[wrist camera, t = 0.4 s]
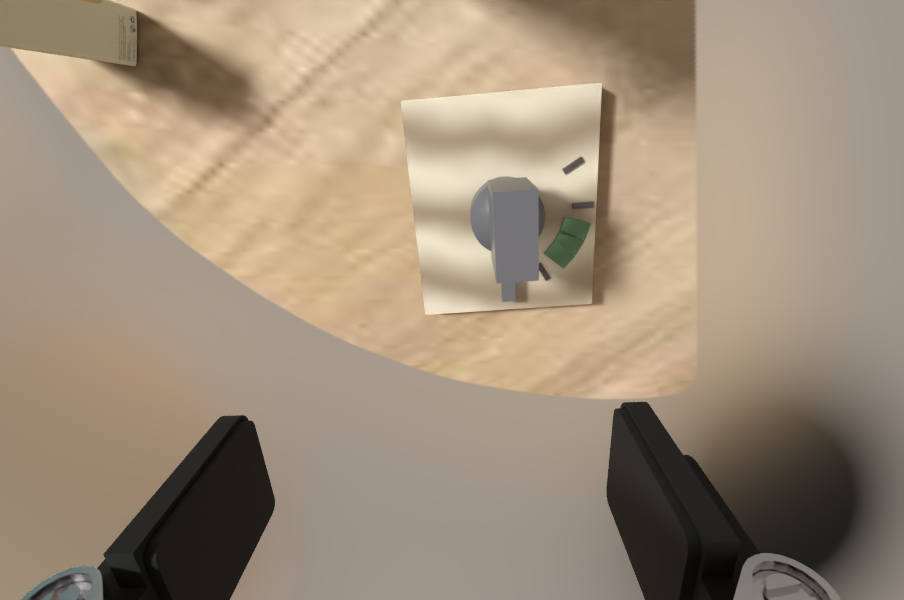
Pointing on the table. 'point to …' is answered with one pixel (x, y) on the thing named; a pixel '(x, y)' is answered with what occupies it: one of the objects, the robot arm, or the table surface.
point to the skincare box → (71, 28)
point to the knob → (509, 229)
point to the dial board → (496, 155)
